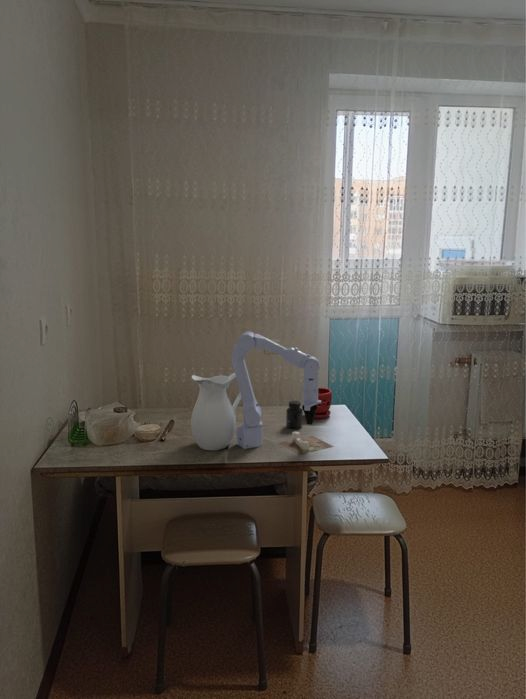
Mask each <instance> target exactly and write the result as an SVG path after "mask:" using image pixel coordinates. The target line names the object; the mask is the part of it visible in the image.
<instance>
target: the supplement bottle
mask: <svg viewBox="0 0 526 699" xmlns="http://www.w3.org/2000/svg"><path fill="white" fill-rule="evenodd" d="M285 411H286V415H285V418H286V419H285V428H286V429H289V430H301V429H302V428H303V413H304V411H303V409H302V406H301V402H300V401H298V400H290V401H288V408H286V410H285Z"/></svg>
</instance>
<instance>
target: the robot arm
mask: <svg viewBox="0 0 526 699" xmlns="http://www.w3.org/2000/svg"><path fill="white" fill-rule="evenodd" d="M254 348H255V350H263V349H265V350H267V351H269V352H272V353H274V354H276V355H279V356H281V357H283V359H284V362H286V363H288V364H290V365H292V366H294V367H297V368H299V369H303V374H304V375H303V377H302V378H303V380H302V399H301V400H302V401H301V403H302V406H301V409H302V411H303V413H304V415H305V416H304V418H305V422H306V425H310V426H311V425H313V424H314V422H315V418H314V416H315V412H316V410H317V408H318V405H317V404H318V403H319V404H320V403H321V400H318V388H319V385H320V384H319V381H320V380H319V379H320V377H319V370H320V363H319V362H320V361H319V359H318V358H317V357H315V356H314V355H310V354H309V353H307V354H306V353H305V352H302V351H301V350H299V348H298V347H296V346H295V347H292V346H291V347H288V348H287V347H284V346H282V345H281V344H278V343H277V342H275V341H273V340H271V339H270V338H267V337H265V336H263V335H261V334H259V333H254V332H253V331H250V330H246V331H244V332H243V333H242V334H241V335H240V336H239V338H238V339H237V340H236V341H235V342H234V347H233V349H232V352H231V355H230V360H231V363H232V368H233V373H235V375H236V382H237V386H238V390H239V392H240V393H241V397H242V398H241V401H242V407H243V413H244V414H243V424H241V426H238V427H237V429H236V445H237V446H239V447H241V448H242V449H243V450H245V449H246V450H247V449H251V448H258V447H261V446H262V445H263V437H264V436H263V432H264V431H263V421H262V420H261V418H262V416H263V409H262V407H261V406H260V405H259V403H258V400H257V399H256V397H255V393H254V390H253V389H254V388H253V385H252V382H251V378H250V374H249V371H248V367H247V364H246V359H245V358H246V356H247V355H248V353H250V352H251V351H252V350H253V349H254Z"/></svg>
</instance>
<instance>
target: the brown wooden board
mask: <svg viewBox="0 0 526 699" xmlns="http://www.w3.org/2000/svg"><path fill="white" fill-rule="evenodd" d="M300 439H301V440H302V441H308V442H309V450H308V451H303V450H301V449H300V446H298V445H297V444H296V443H295V442H292V439H291V440H287V441H286V440H285V441H281V442H279V444H280V445H281V446H283V447H285V448H287V449H288V450H290V451H292V452H294V453H295V454H297V455H303V454H307V453H312V452H318V451H321V450H326V449H330V448H334V445H332V444H330V443H328V442H327V441H324V440H322V439H319V438H318V437H315V436H314V435H309V436H304V437H300Z"/></svg>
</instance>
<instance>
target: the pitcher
mask: <svg viewBox="0 0 526 699" xmlns="http://www.w3.org/2000/svg"><path fill="white" fill-rule="evenodd" d="M235 378H236V375H235V372H233V373H231V374H230V375H228V376H227V375H221V374H220V375H215V376H212V377H201V376H198V375H191V379H192V381H193V382H195V383H196V384H197V386H198V388H199V392H198V396H197V399H196V401H195V404H194V406H193V410H192V413H191V421H190V426H191V427H190V428H191V434H192V437H193V439H194V441H195V443H196V444H197V446H198V447H199V448H200V449H202V450H205V451H220V450H224V449H225V448H227V447H228V446H229V445H230V443H231V441H232V440H233V437H234V435H235V432H236V420H237V415H236V409H238V408H237V407H238V406H239V403H240V402H241V401H242V397H241V393H240V391H239V393H238V394H237V397H236V398H235V400H234V401H233V404H232V403H231V401H230V399H229V396H228V393H227V389H229V388H230V384H231V382H232V381H233V380H234V379H235Z"/></svg>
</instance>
